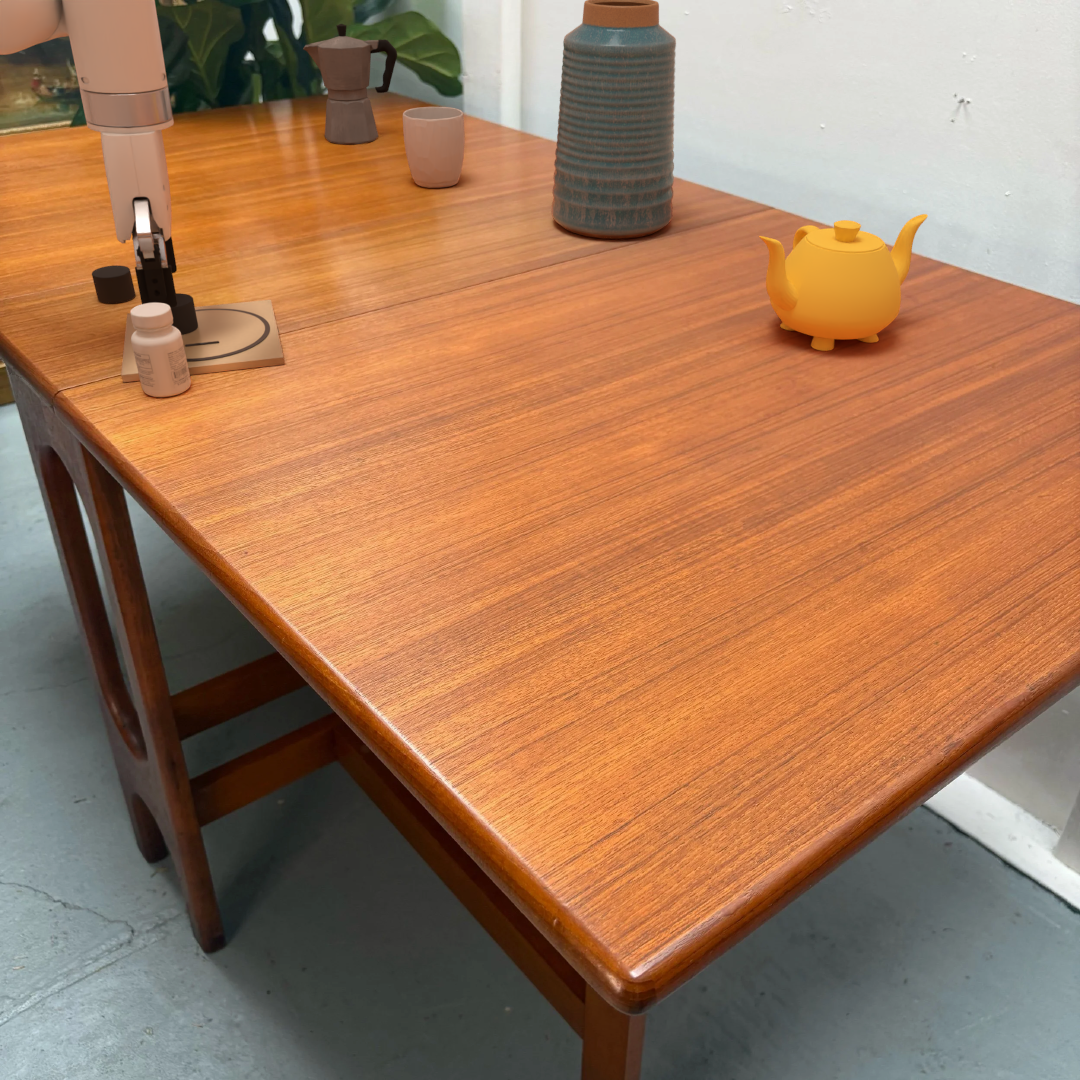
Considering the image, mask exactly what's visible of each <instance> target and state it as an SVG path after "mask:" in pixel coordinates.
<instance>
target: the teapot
mask: <svg viewBox="0 0 1080 1080" xmlns="http://www.w3.org/2000/svg"><path fill="white" fill-rule="evenodd" d="M928 217H929V216H928V214H927V213H923V214H919V215H916V216H914V217H912V218H911V219H909V220H907V221H906V222H905V224H904V225H903V227H902V228H901V229H900V231H899V233H898V235H897V238H896V240H895V242H894V245H893V247H892V249H891V250H889V248H888V246H887V244H886V242H885V241H884V240H883V239H882V238H881V237H879V236H878V235H876V234H873V233H870V232H868V231H864V230H861V228H862V224H860V223H859V222H858V221H854V220H850V219H849V220H848V219H847V220H846V219H842V220H841V219H840V220H837V221H835V222H833V227H829V228H828V227H827V228H819V227H818V226H815V225H812V224H811V225H810V224H809V225H807V224H806V225H803V226H800V227H799V228H798V229H797V230H796V231H795V233H794V236H793V240H792V250H791V251H790V253H789V254H788V255H787V256H786V253H785V249H784V246H783V244H782V243H781V241H779V240H778V239H776V238H771V237H767V236H763V235H758V237H759V239H760V240H762V242H763V243H764V244H765V245H766V247H767V249H768V266H767V268H766V269H767V270H766V276H765V288H766V292H767V295H768V297H769V302H770V306H771V308H772V310H773V312H775V314H776V315H777V317H778V319H780V321H781V323H780V325H779V327H780V328H781V329H784V330H785V331H791V332H793V331H796V332H798V333H801V334H804V335H808V336H811V337H812V340H811V343H810V347H811V348H812V349H814V350H817V351H821V352H825V351H826V352H827V351H832V350H833V349H834V348H835V340H858V341H859V342H863V343H868V344H869V343H877V342H878V341H879V340H880V338H879V337H878V333H880V332H881V331H883V330H884V329H885V328H887V327H888V326H889V325H890V324H892V322H894V321H895V319H896V318H897V317H898V315H899V314H900V310H901V303H902V289H901V288H902V287H901V286H902V285H903V283H904V282H905V280H906V279H907V277H908V275H909V272H910V267H911V260H912V252H913V244H914V240H915V238H916V237H915V236H916V234H917V232H918V230H919V228H920V227H921V225H922V224H923V223H924V222H925V221H926V220H927V218H928Z"/></svg>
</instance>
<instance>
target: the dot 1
mask: <svg viewBox="0 0 1080 1080" xmlns="http://www.w3.org/2000/svg"><path fill="white" fill-rule="evenodd" d="M91 277H92V281H93V285H94V289H95V292H96V293H95V294H96V297H97V301H98V302H100V303H103V304H109V305H110V304H112V305H113V304H123V303H126V302H129V301H132V300H133V299H134V298H136V291H135V285H134V281H133V277H132V272H131V268H130V267H128V266H125V265H117V264H116V265H106V266H102V267H99V268H96V269H94V270H93V271H92V272H91Z"/></svg>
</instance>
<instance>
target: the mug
mask: <svg viewBox="0 0 1080 1080" xmlns="http://www.w3.org/2000/svg"><path fill="white" fill-rule="evenodd" d="M402 129H403V131H402V132H403V142H404V143H403V144H404V149H405V155H406V160H407V165H408V168H409V171H410V175H411V177H412V179H413V181H414V183H415V184H416V185H417V186H419V187H422V188H428V189H439V188H440V189H441V188H448V187H452V186H455V185H457V184H458V183H459V180H460V178H461V174H462V171H463V164H464V158H465V142H466V141H465V140H466V138H465V136H466V135H465V117H464V112H463V111H462V110H461V109H458V108H456V107H450V106H423V107H413V108H410V109H406V110H405V111H403V112H402Z"/></svg>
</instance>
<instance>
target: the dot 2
mask: <svg viewBox="0 0 1080 1080" xmlns="http://www.w3.org/2000/svg"><path fill="white" fill-rule="evenodd" d="M176 298H177V305H176V306H175V307H170V308H171V312H172V316H173V324H172V325H171V326H174V327H176V328H177V329H178V330H179V331H180V332H181V335H184V334H188V333H191V332H193V331H195V330H196V329H197V328H198V322H197V316H196V311H195V307H196V305H195V301H194V297H193V296H192V295H190V294H187V293H178V292H176Z"/></svg>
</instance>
